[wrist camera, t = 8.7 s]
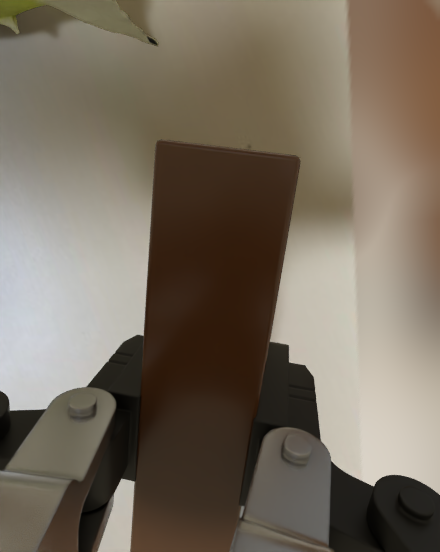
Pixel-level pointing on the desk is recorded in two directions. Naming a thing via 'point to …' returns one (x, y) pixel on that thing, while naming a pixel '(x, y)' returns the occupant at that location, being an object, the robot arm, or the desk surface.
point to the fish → (78, 15)
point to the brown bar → (206, 337)
